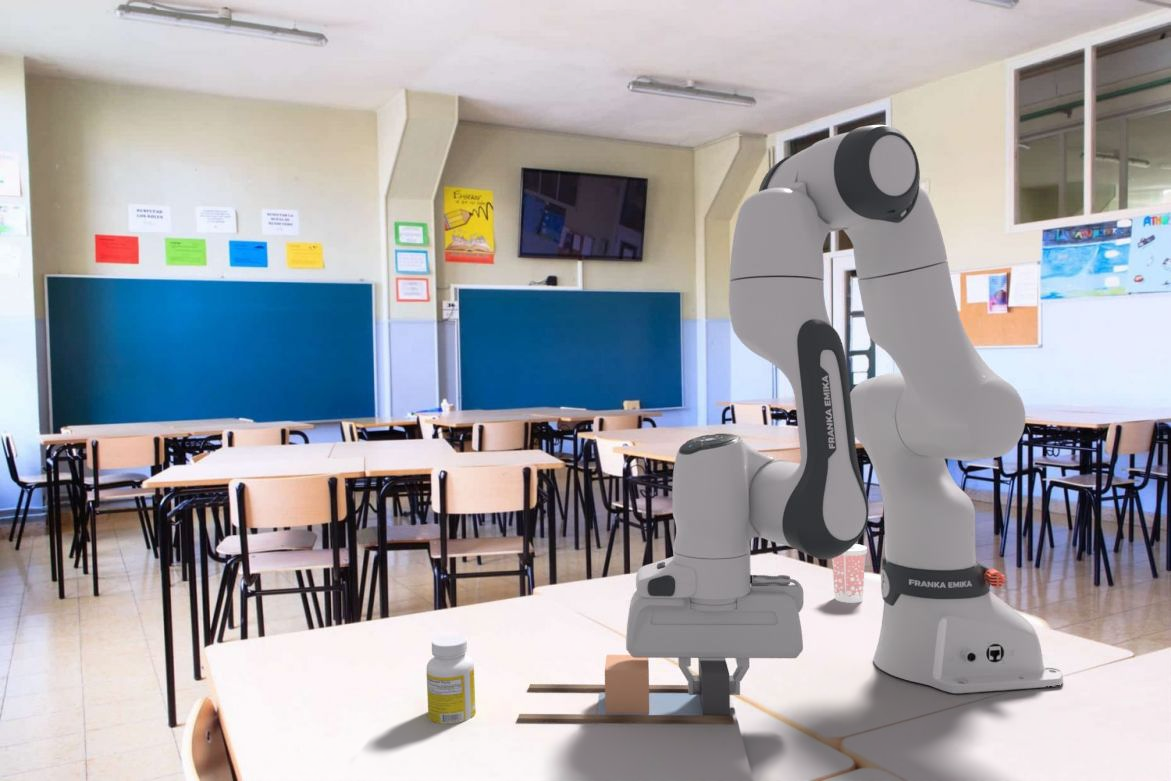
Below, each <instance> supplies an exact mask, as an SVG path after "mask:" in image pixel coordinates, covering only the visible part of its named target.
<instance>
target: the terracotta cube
mask: <svg viewBox="0 0 1171 781" xmlns="http://www.w3.org/2000/svg"><path fill="white" fill-rule="evenodd" d="M605 657H606V658H605V666H604V685H605V692H604V693H605V710H606V713H634V714H649V693H650V692H649V685H650V678H649V676H650V673H649V672H650V669H649V665H650V664H649V661H650V660H649V658H634V657H632V656H631V655H630V654H606V656H605Z"/></svg>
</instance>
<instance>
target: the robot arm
mask: <svg viewBox="0 0 1171 781" xmlns="http://www.w3.org/2000/svg"><path fill="white" fill-rule="evenodd" d="M919 164H920V163H919V159H918V155H917V152H916V151H915V148H914V147H913V144H912V143H911V141H910V140H909V139H908V138H907V137H906V136H905V135H904V134H903V133H902V131H900V130H899V129H897V128H896V127H894V126H890V125H884V124H873V125H864V126H860V127H857V128H854V129H852V130H851V131H848V132H844V133H840V134H837V135H833V136H832V135H831V136H829V137H827V138H824V139H822V140H821V139H820V140H819V141H816V142H815V143H813V144H812V145H811V146H808V147H806V148H805V149H803V150H800V151H799V152H797V153H796V154H793V155H788V156H786V157H784V158H783V159H781V160H779V161H778V162H776V163H775V164H774V165H773V166H772V167H771V168H770V169H769V170H768V172H767V173H766V174H764V175H765V176H764V177H763V178H762V181H761V183H760V185H759V188H758V189H759V190H758V192H755V193H754V194H752V195H751V196H749V197H747V198H746V199H745V201H744V202H743V203H742V204H741V207H739V210H738V213H737V219H736V222H735V228H734V233H733V239H732V246H731V254H730V264H729V284H728V285H729V287H728V288H729V289H728V290H729V292H728V308H729V317H730V323H731V327H732V330H733V332H734V334H735V336H737V338H738V339H739V340H740V342H741V343H742V344H743V345H744V346H745V347H746V348H747V350H750V351H751V352H752V353H754V354H755V355H757V356H759V357H761V358H762V359H764V360H765V361H766V360H767V362H770V364H773V365H774V366H775V367H776V368H777V369H778V370H780V371H781V372H782V374H783V375H784V376H785V378H787V380H788V382H789V383H790V386H791V388H792V391H793V395H794V398H795V410H796V419H797V430H798V441H799V449H800V450H799V451H800V461H799V463H798V462H792V461H789V460H785V459H784V460H783V459H777V458H775V457H774V456H769V455H767V454H766V453H765V454H764V453H763V452H760V451H758V450H756V449H755V448H753V447H751V446H750V445H748V444H747V443H745V442H744V440H743V439H742V438H741V436H739V435H736V434H732V433H715V434H706V435H705V434H704V435H701V436H697V437H694V438H691V439H689V440H687V441H686V442H685V443H683V444H682V445H681V446H680V447H679V448H678V450H677V452H676V455H675V459H674V460H675V461H674V465H673V471H672V490H671V491H672V494H671V496H672V497H671V498H672V500H671V501H672V507H671V508H672V516H673V519H674V523H675V529H676V530H675V532H676V533H675V539H674V542H673V544H672V545H673V546H672V549H673V550H672V551H673V553H672V554H673V556H671V557H668V558H664V559H662V560H659V561H655V562H652V563H649V564H645V565H642V566H641V567H640V568H639V569H638V570H637V573H636V575H635V588H636V590H635V592H634V593H633V595H632V597H631V599H630V604H629V608H628V617H627V624H626V636H625V637H626V638H625V640H626V643H625V649H626V651H627V653H628V655H631V656H632V657H634V658H648V659H650V658H651V659H661V658H662V659H677V662H678V668H679V669H680V671H681V673H682V674H683V675H684V677H685V679H686V681H687V685H688V693H689V695H701V679H700V675H699V674H696V675H695V674H693V671H691V668H690V667H691V666H692V665H691V663H692V662H691V660H692V659H698V658H725V659H735V663H736V668H735V670H734V672H733V674H732V675H729V684H730V696H741V682H742V680H743V678H744V677H745V676H746V674H747V673H748V671H749V669H750V659H797V658H798V657H799V656H800V654H801V653H802V652H803V650H804V644H803V643H804V641H803V631H802V625H801V619H800V618H801V617H800V612H801V611H802V609H803V607H804V588H803V586H802V584H801V583H800V582H799V581H798V580H796V579H793V578H791V577H790V576H789V575H786V574H785V575H784V574H779V575H767V574H751V546H750V542H751V541H752V539H753V538H761V539H765V540H766V541H769V542H772V543H775V544H776V543H777V544H780V545H783V546H787V547H790V548H793V549H795V550H797V551H799V552H801V553H804V554H806V555H808V556H810V557H813V558H816V559H819V560H832V558H835V557H838V556H840V555H841V554H843V553H845V552H846V551H847V550H849V549H850V548H851V547H852V546H853V545H854V544H857V542H858V541H859V540H860V539H861V537H862V535H863V534H864V532H865V529H866V527H867V525H868V519H869V512H870V511H869V507H870V506H869V500H868V496H867V491H866V488H865V484H864V482H863V479H862V475H861V471H860V467H859V460H858V454H857V447H856V440H858V442H859V443H860V444H861V446H862V447H863V449H864V451H865V452H866V454H867V455H868V458H869V461H870V462H871V465H872V467H873V470H874V473H875V475H876V478H877V482H878V485H879V489H880V492H881V493H880V494H881V497H882V498H881V499H882V504H883V518H884V519H883V521H884V523H883V525H884V550H885V553H884V554H885V555H884V556H883V557H882V560H881V570H880V590H881V596H882V597H881V598H882V600H883V609H882V610H883V611H882V619H881V625H880V632H879V638H878V641H877V646H876V649H875V652H874V655H873V658H872V659H873V664H875V666H876V667H877V668H879V670H882V671H883V672H885V673H886V674H889V675H891V676H894V677H897V678H900V679H902V680H906V681H909V682H914V683H918V684H923V685H927V686H930V687H933V688H934V689H935V688H936V689H938V690H941V691H943V692H947V693H950V694H966V693H968V694H969V693H970V694H971V693H980V692H981V693H982V692H993V691H994V692H995V691H996V692H997V691H1009V690H1010V691H1011V690H1022V689H1024V690H1025V689H1037V688H1039V689H1040V688H1050V687H1049V686H1052V687H1056V686H1055V685H1060V684H1062V685H1063V683H1062V682H1064V678H1063V672H1062V670H1061V669H1060V667H1059V666H1058V665H1057V664H1056V663H1055V662H1054V661H1053V660H1052V659H1050V658H1049V657H1047V656H1045V655H1043V651H1042V646H1041V642H1040V639H1039V635H1038V633H1037V631H1036V629H1035V628H1034V626H1033V624H1032V623H1031V622H1030V621H1029V620H1028V619H1026V617H1024V615H1022V614H1020V613H1019V612H1018V611H1016V610H1015V609H1014V608H1013V607H1012V606H1010V605H1009V604H1008V603H1006V602H1005V600H1004V601H1003V599H1001V598H1000V597H998V596H997V595H996V594H994V593H993V592H991V586H992V587H993V588H995V589H999V588H1002V587H1003V586H1004V585H1005V584H1006V581H1007V579H1006V576H1005V575H1004V574H1003V573H1002V572H1000V571H998V569H996V568H988V567H987V566H984V565H982V564H981V563H979V562H978V561H976V510H975V506H974V503H973V501H972V499H971V498H970V497H969V495H967V493H966V492H965V491H964V490H962V489H961V487H959V486H958V485H957V483H956V482H955V480H954V478H953V477H952V475H951V473H950V471H949V468H948V465H947V462H946V460H955V461H956V460H957V461H963V462H968V461H978V460H979V461H980V460H981V461H982V460H986V459H994V458H1000V457H1003V456H1005V455H1007V454H1009V453H1010V452H1011V451H1012V450H1013V449H1014V448H1015V447H1016V446H1017V445H1018V443H1019V441H1020V439H1021V438H1022V436H1023V433H1024V430H1025V426H1026V411H1025V405H1024V402H1023V399H1022V398H1021V396H1020V394H1019V393H1018V390H1017V389H1015V388H1016V387H1015V388H1014V386H1013V385H1012V384H1010V383H1009V382H1007V381H1006V380H1004V379H1003V378H1002V377H1000V376H999V375H998V374H996V372H994V370H992V369H991V368H990V367H989V365H988V364H987V363H986V362H985V361H984V360H983V358H982V357H981V356H980V354H979V352H978V351H977V349H976V348H975V346H974V345H973V343H972V340H970V338H969V336H968V334H967V331H966V330H965V328H964V326H963V322H962V319H961V317H960V313H959V310H958V306H957V301H956V298H955V292H954V287H953V283H952V278H951V273H950V272H951V271H950V267H949V261H948V257H947V251H946V247H945V243H944V238H943V234H942V231H941V228H940V224H939V221H938V218H937V215H936V213H935V210H934V208H933V205H932V202H931V200H930V198H929V196H928V194H927V192H926V191H925V190H924V189H923V188H922V187H920V178H921V177H920V176H921V172H920V165H919ZM838 231H844V233H845V234H846V235H847V237H848V238H849V240H850V242H851V244H852V246H853V248H852V249H853V258H854V266H855V271H856V278H857V285H858V288H859V293H860V300H861V304H862V310H863V314H864V321H865V325H866V326H865V327H866V330H867V334H868V336H869V337H870V339H871V340H872V342H873V343H874V344H876V345H877V346H878V347H879V348H882V350H884V351H885V352H886V353H887V354H888V355H889V357H890V358H892V360H893V361H894V363H895V365H896V366H897V368H898V369H899V371H900V372H889V373H885V374H884V373H883V374H881V375H877V376H873V377H871V378H867V379H864V380H862V381H860V382H858V384H856V385H855V386H854V387H853V388H852V390H851V391H850V382H849V374H848V365H847V360H846V354H845V350H844V349H845V348H844V344H843V342H842V339H841V337H840V335H839V333H838V331H837V330H836V329H835V328H834V327H832V324H831V322H830V319H829V316H828V311H827V308H826V307H827V306H826V301H825V289H824V286H825V285H824V283H825V280H824V279H825V278H824V277H825V275H824V274H825V272H824V271H825V270H824V269H825V264H824V263H825V262H824V250H823V248H824V244H825V241H826V238H827V237H828V235H829V233H833V232H838ZM791 583H793V584H791ZM1046 686H1048V687H1046ZM1060 686H1061V685H1060Z"/></svg>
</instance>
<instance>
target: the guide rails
mask: <svg viewBox="0 0 1171 781" xmlns="http://www.w3.org/2000/svg"><path fill="white" fill-rule="evenodd" d="M528 692H530V693H531V692H546V693H547V692H548V693H550V692H551V693H553V692H556V693H557V692H559V693H566V692H567V693H581V692H582V693H605V684H584V683H583V684H575V683H574V684H570V683H569V684H568V683H566V684H565V683H562V684H560V683H558V684H551V683H547V684H546V683H545V684H543V683H530V684H529V686H528ZM649 693H688V684H649ZM517 722H518V723H545V724H546V723H549V724H550V723H551V724H552V723H561V724H562V723H564V724H565V723H568V724H575V723H576V724H654V725H655V724H658V725H659V724H663V725H665V724H666V725H671V724H672V725H693V724H694V725H735V719H734V716H733V715H730V716H710V715H598V714H597V713H596V714H594V713H593V714H585V713H584V714H583V713H582V714H577V713H574V714H573V713H568V714H567V713H519V714H518V716H517Z"/></svg>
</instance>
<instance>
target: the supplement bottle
mask: <svg viewBox="0 0 1171 781" xmlns="http://www.w3.org/2000/svg"><path fill="white" fill-rule="evenodd" d="M467 640H468V639H467V638H466V637H465V636H463V635H460V634H448V635H442V636H438V637H436V638H434V639H432V640H431V654H432V656H433V657H432V658H431V659H430V660H428V662H427V664H426V689H427V690H426V691H427V715H428V717H427V718H428V719H429V720H430V722H433V723H434V724H435V723H436V724H440V725H455V724H459V723H464V722H467V721H468V720H471V719H473V717H475V715H476V690H475V689H476V688H475V687H476V686H475V684H476V683H475V666H474V665H475V664H474V660H473V659H472V657H471V656H469V654H466V653H468V641H467Z"/></svg>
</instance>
